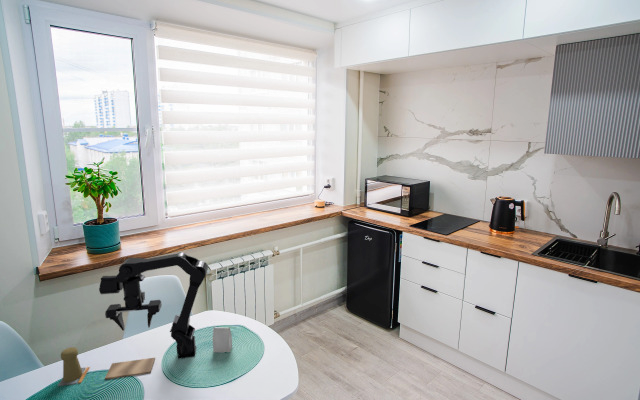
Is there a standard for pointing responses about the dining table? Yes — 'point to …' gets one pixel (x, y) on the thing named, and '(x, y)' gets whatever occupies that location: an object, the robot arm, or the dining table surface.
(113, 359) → the dining table surface
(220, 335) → the grey rectangular block
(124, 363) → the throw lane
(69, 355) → the cork
